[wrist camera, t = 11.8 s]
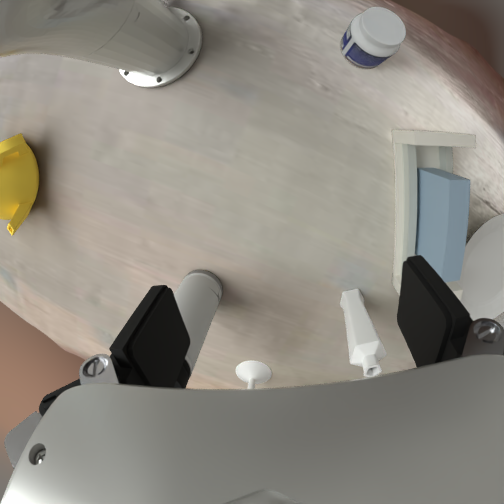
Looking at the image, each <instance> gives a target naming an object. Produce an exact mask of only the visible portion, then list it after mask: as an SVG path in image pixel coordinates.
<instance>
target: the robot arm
mask: <svg viewBox="0 0 504 504" xmlns="http://www.w3.org/2000/svg"><path fill="white" fill-rule="evenodd" d="M188 19H189V20H188ZM201 45H202V31H201V28H200V25H199V24H198V22H197V20H196V19H195V18H194V17H193V16H192V15H191V14H190V13H188V12H187V11H185V10H182V9H180V8H175V7H166V6H165V3H164V1H163V0H0V58H1V57H6V56H11V55H18V54H48V55H56V56H62V57H68V58H73V59H78V60H83V61H87V62H92V63H96V64H100V65H104V66H108V67H112V68H116V69H119V72H120V74H121V75H122V76H123V78H124V79H125V80H127V81H128V82H129V83H131V84H133V85H135V86H139V87H145V88H155V87H160V86H164V85H167V84H169V83H171V82H173V81H175V80H176V79H178V78H179V77H181V76H182V75H183V74H184V73H185V72H187V71H188V69H189V68H190V67H191V66H192V65H193V63H194V62H195V60H196V58H197V57H198V54H199V52H200V49H201ZM192 52H194V53H193V54H191V53H192ZM161 79H162V81H161ZM397 322H398V325H399V327H400V329H401V332H402V334H403V336H404V338H405V340H406V343H407V345H408V347H409V349H410V352H411V354H412V356H413V359H414V361H415V363H416V366H417V368H413V369H408V370H404V371H399V372H394V373H389V374H384V375H378V376H373V377H367V378H361V379H354V380H348V381H340V382H333V383H324V384H315V385H305V386H294V387H280V388H261V389H186V388H174V386H175V383H176V381H177V378H178V375H179V373H180V370H181V367H182V365H183V362H184V359H185V357H186V354H187V352H188V349H189V346H190V336H189V334H188V331H187V329H186V326H185V324H184V321H183V318H182V316H181V313H180V310H179V308H178V305H177V302H176V300H175V297H174V294H173V291H172V289H171V288H168V287H167V286H166V285H159V286H152V287H151V289H150V290H149V292H148V293H147V294H146V296H145V297H144V299H143V300H142V301H141V303H140V304H139V306H138V307H137V308H136V310H135V311H134V313H133V314H132V316H131V317H130V319H129V320H128V322H127V323H126V324H125V326H124V327H123V329H122V330H121V332H120V333H119V335H118V336H117V338H116V339H115V341H114V342H113V344H112V345H111V347H110V348H109V349H110V351H111V353H112V354H111V355H110V357H109V356H108V355H106V354H97V355H94V356H92V357H90V358H88V359H87V360H86V361H85V362H84V363H83V364H82V365H81V368H80V370H79V376H80V379H78V380H76V381H74V382H72V383H70V384H68V385H66V386H64V387H62V388H60V389H58V390H56V391H54V392H52V393H50V394H47V395H46V396H45V397H44V398H43V400H42V401H41V404H40V406H39V413H37V411H35V412H34V413H32V414H31V415H30V416H29V417H27V418H26V419H25V420H24V421H23V422H21V423H20V424H19V425H18V426H16V427H15V428H14V429H13V430H11V431H10V432H9V433H8V434H7V436H6V438H5V442H4V443H5V448H6V451H7V453H8V456H9V458H10V461H11V463H12V466H13V468H14V472H13V474H12V476H11V478H10V481H9V483H8V486H7V488H6V491H5V493H4V496H3V498H2V501H1V504H504V329H503V327H502V326H501V325H500V324H499V323H498V322H496V321H495V320H492V319H489V318H479V319H476V320H475V321H473V320H472V318H471V317H470V313H469V312H468V311H467V309H466V308H465V307H464V306H463V304H462V303H461V302H460V300H459V299H458V298H457V297H456V295H455V294H454V293H453V292H452V290H451V289H450V288H449V287H448V285H447V284H446V283H445V282H444V281H443V279H442V278H441V277H440V276H439V275H438V273H437V272H436V271H435V270H434V269H433V268H432V267H431V265H430V264H429V263H428V262H427V261H426V260H425V259H424V257H423V256H421V255H417V256H410V257H408V258H407V260H406V261H404V262H403V266H402V278H401V289H400V298H399V306H398V314H397Z"/></svg>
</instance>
